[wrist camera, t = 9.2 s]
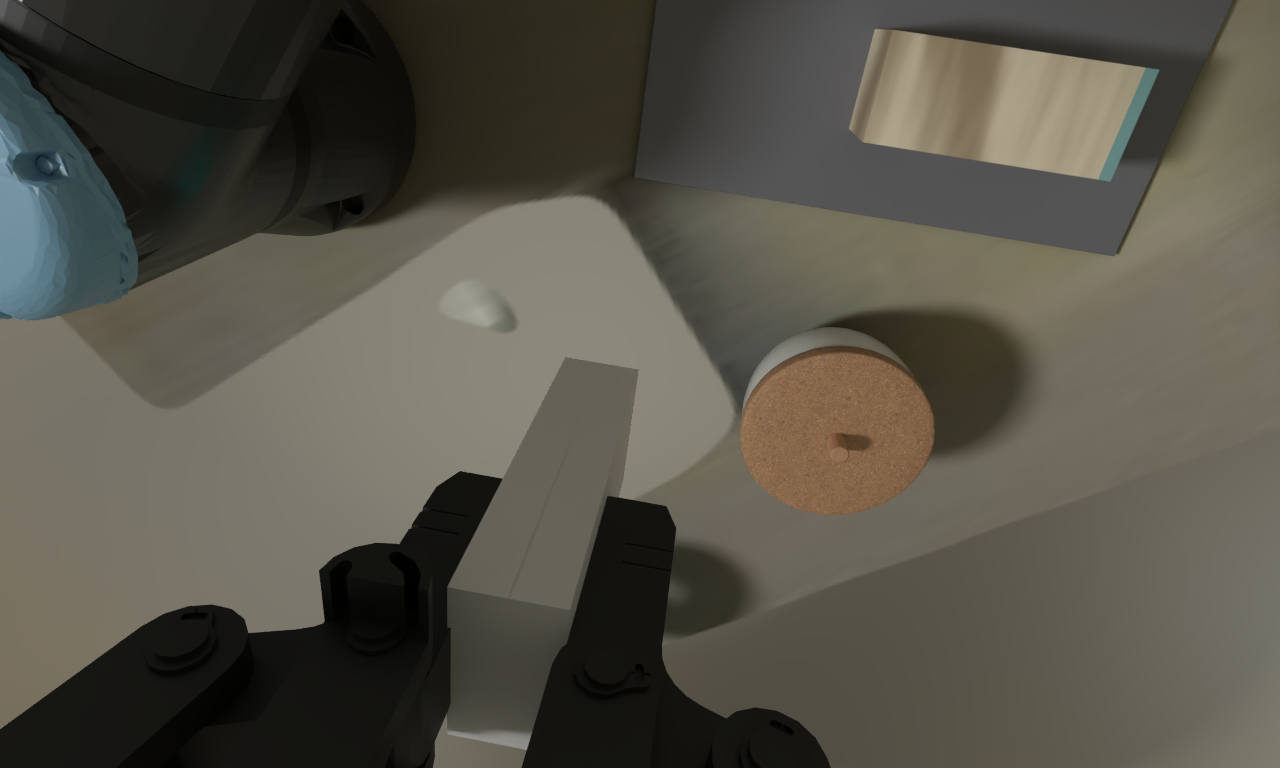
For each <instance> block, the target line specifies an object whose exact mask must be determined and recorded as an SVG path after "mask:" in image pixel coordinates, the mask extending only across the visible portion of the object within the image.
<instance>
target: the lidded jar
mask: <svg viewBox="0 0 1280 768" xmlns="http://www.w3.org/2000/svg"><path fill="white" fill-rule="evenodd" d="M934 439H935V420H934V414H933V411H932V407H931V404H930V402H929V400H928V398H927V396H926V394H925V392H924V390H923V388H922V386H921V385H920V384H919V383H918V381H917V380H916V379H915V377H914V376H913V374H912V372H911V371H910V370H909V368H908V367H907V366H906V365H905V363H904V362H903V361H902V360H901V359H900V357H899V356H898V355H897V354H896V353H894V352H893V351H892V350H891V349H890V348H889V347H888V346H886V345H885V344H883V343H882V342H880V341H878V340H877V339H875V338H874V337H872V336H870V335H867V334H865V333H862V332H860V331H856V330H852V329H848V328H838V327H822V328H815V329H810V330H806V331H803V332H800V333H798V334H795V335H793V336H791V337H789V338H787V339H786V340H784V341H783V342H781V343H780V344H778V345H777V346H776V347H774V348H773V349H772V350H771V351H770V352H769V353H768V354H767V355H766V356H765V357H764V358H763V360H762V361H761V362H760V364H759V365H758V366H757V368H756V370H755V372H754V374H753V376H752V378H751V380H750V382H749V385H748V388H747V391H746V394H745V398H744V404H743V412H742V418H741V425H740V443H741V450H742V454H743V458H744V461H745V463H746V465H747V468H748V470H749V471H750V473H751V474H752V476H753V477H754V479H755V480H756V481H757V482H758V484H759V485H760V486H761V487H762V488H763V489H764V490H765V491H767V492H768V493H769V494H770V495H772V496H773V497H774V498H776V499H778V500H779V501H781V502H783V503H785V504H787V505H789V506H792V507H794V508H797V509H799V510H803V511H807V512H811V513H818V514H826V515H837V514H849V513H856V512H860V511H864V510H867V509H871V508H873V507H876V506H878V505H881V504H883V503H885V502H887V501H888V500H890V499H892V498H894V497H895V496H897V495H898V494H899V493H901V492H902V491H903V490H905V489H906V488H907V487H908V486H909V485H910V484H911V483H912V482H913V481H914V480H915V479H916V478H917V477H918V475H919V474H920V473H921V471H922V470H923V468H924V467H925V465H926V463H927V461H928V459H929V457H930V455H931V451H932V448H933V444H934Z"/></svg>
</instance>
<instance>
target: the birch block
mask: <svg viewBox="0 0 1280 768" xmlns="http://www.w3.org/2000/svg"><path fill="white" fill-rule="evenodd" d="M1158 72H1159V70H1158V69H1151V68H1144V67H1138V66H1131V65H1124V64H1118V63H1111V62H1104V61H1098V60H1091V59H1085V58H1078V57H1071V56H1065V55H1058V54H1051V53H1045V52H1038V51H1032V50H1025V49H1018V48H1012V47H1005V46H998V45H992V44H985V43H978V42H972V41H965V40H959V39H952V38H945V37H939V36H932V35H925V34H919V33H912V32H906V31H899V30H889V29H875V30H874V34H873V38H872V42H871V46H870V50H869V53H868V57H867V61H866V65H865V69H864V73H863V77H862V80H861V84H860V88H859V92H858V96H857V100H856V104H855V107H854V111H853V115H852V119H851V123H850V127H849V130H851V131H852V132H853V133H854V134H855V135H856V136H857V137H858V138H859V139H860V140H861V141H862V142H864V143H871V144H877V145H883V146H890V147H896V148H902V149H908V150H915V151H921V152H927V153H934V154H940V155H946V156H952V157H959V158H965V159H971V160H978V161H984V162H990V163H997V164H1003V165H1009V166H1015V167H1022V168H1028V169H1034V170H1041V171H1047V172H1053V173H1059V174H1066V175H1072V176H1078V177H1085V178H1091V179H1097V180H1104V181H1110V182H1111V179H1112V177H1113V175H1114V173H1115V170H1116V168H1117V166H1118V163H1119V161H1120V159H1121V157H1122V154H1123V152H1124V150H1125V147H1126V145H1127V143H1128V141H1129V138H1130V136H1131V134H1132V132H1133V129H1134V127H1135V125H1136V122H1137V120H1138V118H1139V116H1140V113H1141V111H1142V109H1143V106H1144V104H1145V102H1146V100H1147V97H1148V95H1149V93H1150V90H1151V88H1152V86H1153V84H1154V81H1155V79H1156V77H1157V75H1158Z"/></svg>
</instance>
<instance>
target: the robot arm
mask: <svg viewBox="0 0 1280 768" xmlns="http://www.w3.org/2000/svg"><path fill="white" fill-rule="evenodd" d="M415 126H416V123H415V109H414V101H413V96H412V91H411V87H410V83H409V80H408V77H407V74H406V71H405V68H404V66H403V63H402V61H401V58H400V56H399V54H398V52H397V50H396V48H395V46H394V44H393V43H392V41H391V39H390V38H389V36H388V34H387V33H386V31H385V30H384V28H383V27H382V25H381V24H380V23H379V21H378V20H377V19H376V18H375V16H374V15H373V14H372V13H371V12H370V11H369V9H368V8H367V7H366V6H365V5H364V4H363V3H362V2H361V1H360V0H0V319H11V318H16V319H20V320H21V319H25V320H40V319H48V318H52V317H56V316H60V315H63V314H67V313H70V312H74V311H77V310H81V309H84V308H87V307H91V306H94V305H98V304H107V303H109V302H111V301H114V300H117V299H120V298H122V296H124V295H127V294H128V292H129V290H131V289H133V288H136V287H138V286H140V285H142V284H145V283H147V282H149V281H151V280H154V279H156V278H158V277H160V276H163V275H165V274H167V273H169V272H172V271H174V270H176V269H178V268H181V267H183V266H185V265H187V264H190V263H192V262H194V261H196V260H199V259H201V258H203V257H205V256H207V255H210V254H212V253H214V252H216V251H219V250H221V249H223V248H225V247H228V246H230V245H232V244H234V243H237V242H239V241H241V240H243V239H246V238H248V237H250V236H252V235H254V234H256V233H268V234H281V235H294V236H315V235H322V234H328V233H332V232H336V231H339V230H342V229H345V228H347V227H349V226H351V225H353V224H355V223H357V222H359V221H361V220H363V219H365V218H367V217H369V216H370V215H372V214H374V213H375V212H376V211H378V210H379V209H380V208H382V207H383V206H384V205H385V204H386V203H387V202H388V201H389V200H390V199H391V198H392V196H393V195H394V194H395V192H396V191H397V189H398V188H399V186H400V185H401V183H402V181H403V179H404V177H405V175H406V173H407V170H408V168H409V165H410V162H411V158H412V154H413V149H414V143H415ZM637 376H638V370H636V369H631V368H625V367H619V366H613V365H608V364H601V363H596V362H590V361H584V360H578V359H572V358H566V357H565V359H564V361H563V363H562V365H561V367H560V369H559V371H558V373H557V375H556V377H555V379H554V381H553V383H552V384H551V386H550V388H549V390H548V392H547V394H546V396H545V398H544V400H543V402H542V404H541V406H540V408H539V410H538V412H537V414H536V416H535V417H534V419H533V421H532V423H531V425H530V428H529V429H528V431H527V433H526V435H525V437H524V439H523V441H522V443H521V445H520V447H519V449H518V450H517V452H516V454H515V457H514V458H513V460H512V462H511V464H510V466H509V468H508V470H507V472H506V474H505V476H504V478H503V479H501V478H495V477H490V476H483V475H479V474H473V473H467V472H462V471H460V472H458V473H456V474H455V475H454V476H452V477H451V478H449V479H448V480H446V481H445V482H443V483H442V484H440V485H439V486H437V487H436V489H435V490H434V492H433V493H432V495H431V496H430V498H429V499H428V501H427V502H426V504H425V505H424V507H423V511H422V512H420V513H419V515H418V516H417V518H416V519H415V521H414V522H413V524H412V528H411V529H409V530H408V532H407V533H406V535H405V536H404V538H403V539H402V541H401V542H400V544H388V543H373V544H368V545H363V546H359V547H354V548H352V549H350V550H348V551H345V552H343V553H342V554H339V555H337V556H335V557H333V558H332V559H331V560H330V561H329V562H328V563H327V564H326V565H325V566H324V567H323V568H321V569H320V570H319V573H320V583H321V591H322V600H323V609H324V618H325V622H324V623H323V624H320V625H317V626H315V627H309V628H302V629H296V630H284V631H271V632H259V633H248V630H247V627H246V623H245V620H244V618H242V617H241V616H240V615H238V614H237V613H236V612H235V611H233V610H232V609H229V608H224V607H220V606H216V605H201V606H188V607H185V608H181V609H178V610H175V611H172V612H168V613H165V614H163V615H161V616H159V617H158V618H156V619H154V620H152V621H150V622H149V623H147V624H145V625H143V626H142V627H140V628H139V629H137V630H136V631H135V632H133V633H132V634H131V635H129V636H128V637H126V638H125V639H123V640H122V641H121V642H119V643H118V644H117V645H115V646H114V647H113V648H111V649H110V650H109V651H107V652H106V653H104V654H103V655H102V656H100V657H99V658H97V659H96V660H95V661H93V662H92V663H91V664H89V665H88V666H87V667H85V668H84V669H82V670H81V671H80V672H78V673H77V674H75V675H74V676H73V677H71V678H70V679H69V680H67V681H66V682H65V683H63V684H62V685H60V686H59V687H58V688H56V689H55V690H53V691H52V692H51V693H49V694H48V695H47V696H45V697H44V698H42V699H41V700H40V701H38V702H37V703H36V704H34V705H33V706H32V707H30V708H29V709H27V710H26V711H25V712H23V713H22V714H21V715H19V716H18V717H16V718H15V719H14V720H12V721H11V722H10V723H8V724H7V725H6V726H4V727H3V728H2V729H0V768H433V764H434V758H435V744H434V743H435V740H436V737H437V735H438V732H439V730H440V728H441V725H442V723H443V721H444V718H445V716H446V713H447V733H448V734H450V735H455V736H460V737H465V738H470V739H475V740H480V741H485V742H490V743H495V744H500V745H505V746H510V747H515V748H520V749H525V750H527V751H526V755H525V758H524V762H523V765H522V768H831V767H830V765H829V762H828V759H827V757H826V755H825V754H824V752H823V750H822V749H821V747H820V745H819V743H818V741H817V740H816V738H815V737H814V736H813V735H812V734H811V733H810V732H809V731H807V729H806V728H804V727H803V726H802V725H801V724H800V723H799V722H798V721H796V720H794V719H792V718H790V717H788V716H786V715H784V714H782V713H780V712H778V711H774V710H768V709H761V708H751V709H746V710H741V711H737V712H735V713H733V714H732V715H731V716H729V717H728V718H727V719H726V718H724V717H722V716H720V715H718V714H716V713H714V712H712V711H710V710H708V709H707V708H705V707H703V706H701V705H699V704H698V703H696V702H694V701H693V700H691V699H690V698H688V697H687V696H686V695H685V694H684V693H683V692H682V691H681V690H679V688H678V687H677V686H676V685H675V684H674V683H673V681H672V680H671V678H670V677H669V675H668V673H667V672H666V668H665V665H664V663H663V659H662V641H663V633H664V624H665V616H666V608H667V600H668V591H669V583H670V574H671V567H672V559H673V550H674V542H675V534H676V527H675V524H674V522H673V520H672V518H671V516H670V513H669V511H668V509H667V507H666V506H663V505H657V504H651V503H646V502H640V501H635V500H629V499H623V498H619V494H620V490H621V486H622V481H623V475H624V468H625V461H626V454H627V447H628V440H629V433H630V426H631V419H632V412H633V405H634V397H635V391H636V384H637Z"/></svg>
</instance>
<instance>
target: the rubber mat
mask: <svg viewBox="0 0 1280 768" xmlns="http://www.w3.org/2000/svg"><path fill="white" fill-rule="evenodd" d="M1232 2H1233V0H657V2H656V10H655V18H654V26H653V34H652V42H651V49H650V57H649V65H648V73H647V81H646V88H645V96H644V104H643V112H642V120H641V128H640V135H639V143H638V151H637V159H636V167H635V175H634V178H640V179H646V180H653V181H659V182H665V183H671V184H677V185H683V186H689V187H695V188H701V189H707V190H714V191H720V192H726V193H732V194H738V195H744V196H750V197H756V198H762V199H768V200H775V201H781V202H787V203H793V204H799V205H805V206H811V207H817V208H823V209H829V210H836V211H842V212H848V213H854V214H860V215H866V216H872V217H878V218H884V219H890V220H897V221H903V222H909V223H915V224H921V225H927V226H933V227H939V228H945V229H951V230H958V231H964V232H970V233H976V234H982V235H988V236H994V237H1000V238H1006V239H1012V240H1019V241H1025V242H1031V243H1037V244H1043V245H1049V246H1055V247H1061V248H1067V249H1073V250H1079V251H1086V252H1092V253H1098V254H1104V255H1110V256H1115V254H1116V252H1117V249H1118V247H1119V245H1120V243H1121V241H1122V239H1123V237H1124V234H1125V232H1126V230H1127V228H1128V226H1129V224H1130V221H1131V219H1132V217H1133V215H1134V213H1135V211H1136V209H1137V206H1138V204H1139V202H1140V200H1141V198H1142V196H1143V193H1144V191H1145V189H1146V187H1147V185H1148V183H1149V180H1150V178H1151V176H1152V174H1153V172H1154V170H1155V168H1156V165H1157V163H1158V161H1159V159H1160V157H1161V155H1162V152H1163V150H1164V148H1165V146H1166V144H1167V142H1168V140H1169V137H1170V135H1171V133H1172V131H1173V129H1174V127H1175V124H1176V122H1177V120H1178V118H1179V116H1180V114H1181V112H1182V109H1183V107H1184V105H1185V103H1186V101H1187V99H1188V96H1189V94H1190V92H1191V90H1192V88H1193V86H1194V83H1195V81H1196V79H1197V77H1198V75H1199V73H1200V71H1201V68H1202V66H1203V64H1204V62H1205V60H1206V58H1207V55H1208V53H1209V51H1210V49H1211V47H1212V45H1213V43H1214V40H1215V38H1216V36H1217V34H1218V32H1219V30H1220V27H1221V25H1222V23H1223V21H1224V19H1225V17H1226V15H1227V12H1228V10H1229V8H1230V6H1231V4H1232ZM875 29H889V30H899V31H906V32H912V33H919V34H925V35H932V36H939V37H945V38H952V39H959V40H965V41H972V42H978V43H985V44H992V45H998V46H1005V47H1012V48H1018V49H1025V50H1032V51H1038V52H1045V53H1051V54H1058V55H1065V56H1071V57H1078V58H1085V59H1091V60H1098V61H1104V62H1111V63H1118V64H1124V65H1131V66H1138V67H1144V68H1151V69H1158V70H1159V72H1158V75H1157V77H1156V79H1155V81H1154V84H1153V86H1152V88H1151V90H1150V93H1149V95H1148V97H1147V100H1146V102H1145V104H1144V106H1143V109H1142V111H1141V113H1140V116H1139V118H1138V120H1137V122H1136V125H1135V127H1134V129H1133V132H1132V134H1131V136H1130V138H1129V141H1128V143H1127V145H1126V147H1125V150H1124V152H1123V154H1122V157H1121V159H1120V161H1119V163H1118V166H1117V168H1116V170H1115V173H1114V175H1113V177H1112V179H1111V182H1110V181H1104V180H1097V179H1091V178H1085V177H1078V176H1072V175H1066V174H1059V173H1053V172H1047V171H1041V170H1034V169H1028V168H1022V167H1015V166H1009V165H1003V164H997V163H990V162H984V161H978V160H971V159H965V158H959V157H952V156H946V155H940V154H934V153H927V152H921V151H915V150H908V149H902V148H896V147H890V146H883V145H877V144H871V143H864V142H862V141H861V140H860V139H859V138H858V137H857V136H856V135H855V134H854V133H853V132H852V131H851V130H849V127H850V123H851V119H852V115H853V111H854V107H855V104H856V100H857V96H858V92H859V88H860V84H861V80H862V77H863V73H864V69H865V65H866V61H867V57H868V53H869V50H870V46H871V42H872V38H873V34H874V30H875Z"/></svg>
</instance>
